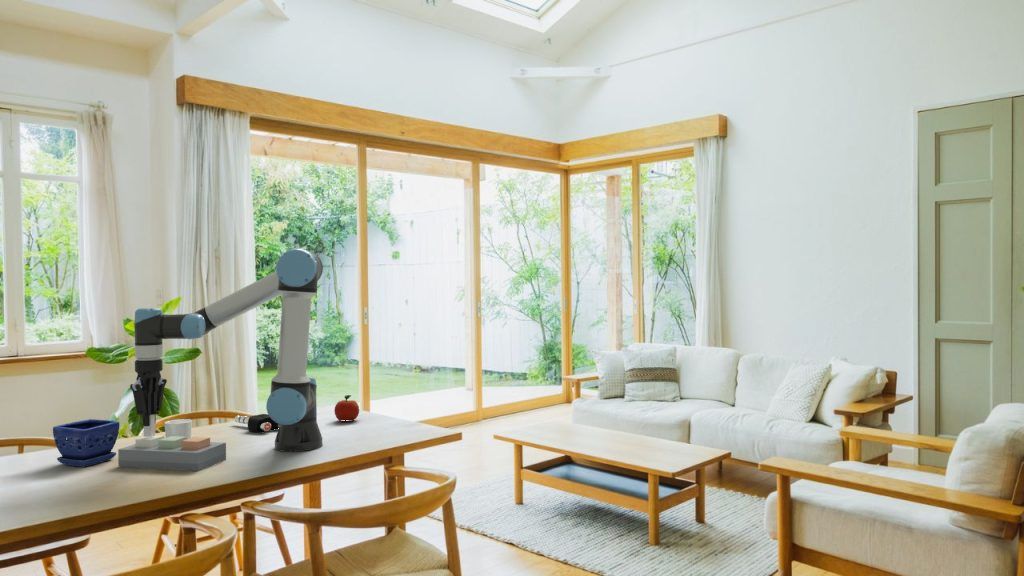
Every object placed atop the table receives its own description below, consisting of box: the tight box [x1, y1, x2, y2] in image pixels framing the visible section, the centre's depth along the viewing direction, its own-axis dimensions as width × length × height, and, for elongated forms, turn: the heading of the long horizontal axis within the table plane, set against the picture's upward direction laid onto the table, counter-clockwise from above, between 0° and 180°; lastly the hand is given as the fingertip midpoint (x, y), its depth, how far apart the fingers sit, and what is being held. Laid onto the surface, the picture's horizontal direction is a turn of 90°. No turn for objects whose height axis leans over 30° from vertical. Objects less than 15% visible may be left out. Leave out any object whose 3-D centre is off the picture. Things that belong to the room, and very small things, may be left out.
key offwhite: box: [135, 435, 165, 448], centre depth 210 cm, size 6×6×4 cm
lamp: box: [234, 413, 280, 434], centre depth 259 cm, size 11×5×25 cm
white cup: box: [164, 418, 193, 439], centre depth 222 cm, size 8×8×10 cm
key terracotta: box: [182, 436, 211, 450], centre depth 207 cm, size 6×6×4 cm
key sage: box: [159, 436, 187, 449], centre depth 208 cm, size 6×6×4 cm
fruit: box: [334, 394, 360, 421], centre depth 271 cm, size 10×10×10 cm
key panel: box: [117, 441, 227, 472], centre depth 208 cm, size 27×13×5 cm, turn 78°
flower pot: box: [52, 418, 120, 468], centre depth 211 cm, size 13×13×12 cm
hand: (149, 436), depth 210 cm, fingers closed
